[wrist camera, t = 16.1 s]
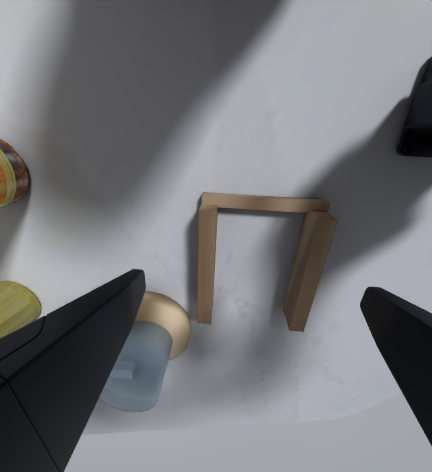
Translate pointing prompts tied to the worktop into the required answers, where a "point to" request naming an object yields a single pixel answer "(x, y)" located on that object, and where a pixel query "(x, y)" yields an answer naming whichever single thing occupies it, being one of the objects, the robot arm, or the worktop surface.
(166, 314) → the disc
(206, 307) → the cradle
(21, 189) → the sauce bottle
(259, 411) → the worktop surface
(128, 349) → the jug
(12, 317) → the vase
